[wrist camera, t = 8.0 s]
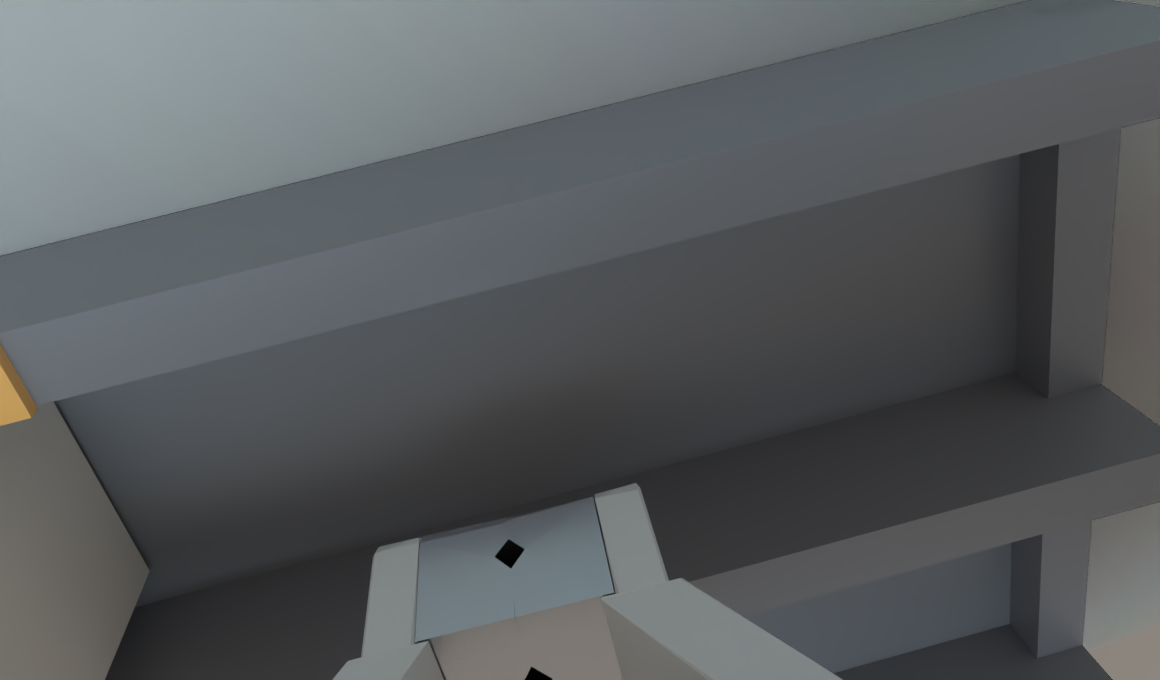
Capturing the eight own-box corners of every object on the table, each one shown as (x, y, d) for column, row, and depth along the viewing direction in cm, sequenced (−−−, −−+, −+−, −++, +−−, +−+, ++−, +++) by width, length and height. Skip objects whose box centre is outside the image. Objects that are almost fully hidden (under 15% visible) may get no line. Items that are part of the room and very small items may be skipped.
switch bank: (1059, -11, 14) (1256, 17, 11) (1034, 626, 21) (1153, 767, 17) (-477, 371, 13) (-786, 532, 10) (2, 916, 20) (-86, 1125, 16)
